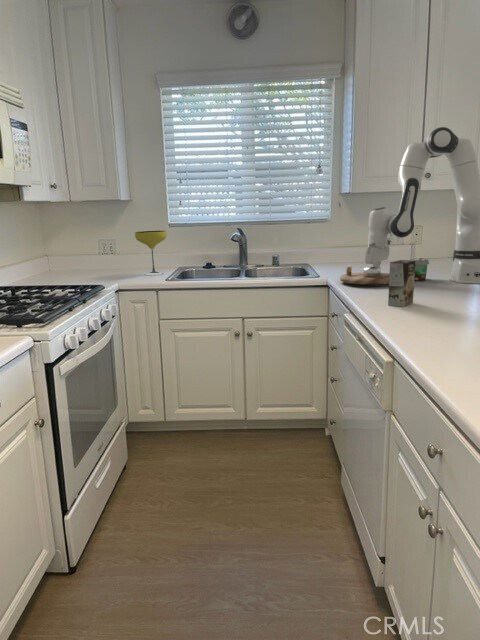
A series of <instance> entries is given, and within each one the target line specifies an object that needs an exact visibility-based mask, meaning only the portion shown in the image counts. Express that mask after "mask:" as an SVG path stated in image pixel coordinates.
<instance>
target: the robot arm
mask: <svg viewBox="0 0 480 640" xmlns="http://www.w3.org/2000/svg"><path fill="white" fill-rule="evenodd" d="M443 155H444V156H445V157H446V158H447V160H448V161H449V162H448V163H449V169H450V174H451V181H452V185H453V190H454V195H455V198H456V205H457V215H456V227H455V229H456V231H455V243H454V250H453V254H452V255H453V256H452V261H453V264H452V269H451V273H450V276H449V278H448V280H449V281H452V282H456V283H460V284H480V169H479V166H478V165H479V164H478V161H477V160H478V159H477V156H476V152H475V149H474V146H473V143H472V141H470V139H469V138H459V137H458V136H457V135H456V134H455V132H453V131H452V130H451V129H450V128H448V127H446V126H445V127H444V126H441V127H436V128H434V130H432V131H431V132H430V133H429V134H428V136H427V137H426V139H425V140H424V141H423V142H412V143H410V144H409V145H408V146H407V147H406V150H405V151H404V154H403V156H402V159H401V161H400V166H399V168H398V172H397V173H398V174H397V175H398V176H397V182H398V184H399V186H400V188H401V193H402V194H401V199H400V203H399V208H398V212H394V211H392V210H390V209H388V207H386V206H384V207H378V208H373V209H372V210H371V211H370V212H369V216H368V235H367V248H366V249H365V255H364V263H365V264H367V265H368V264H369V265H372V267H380V268H381V265H382V262H383V261H388V259H389V256H390V245H391V240H390V239H389V238H388V235H389V234H391V235H393V236H395V237H396V238H406V237H408V236H409V235H410V234H412V232H413V231H414V228H415V220H414V212H415V207H416V202H417V197H418V193H419V189H420V186H421V183H422V180H423V176H424V174H425V170H426V167H427V162H428V161H429V159H431V158H432V159H433V158H439V157H441V156H443Z"/></svg>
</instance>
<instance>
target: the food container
mask: <svg viewBox="0 0 480 640" xmlns="http://www.w3.org/2000/svg"><path fill="white" fill-rule="evenodd" d="M414 261H415V277H414V282H425V281H426V278H427V271H428V265H429V264H430V260H429V258H424V257H419V258H418V259H416V260H414Z"/></svg>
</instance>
